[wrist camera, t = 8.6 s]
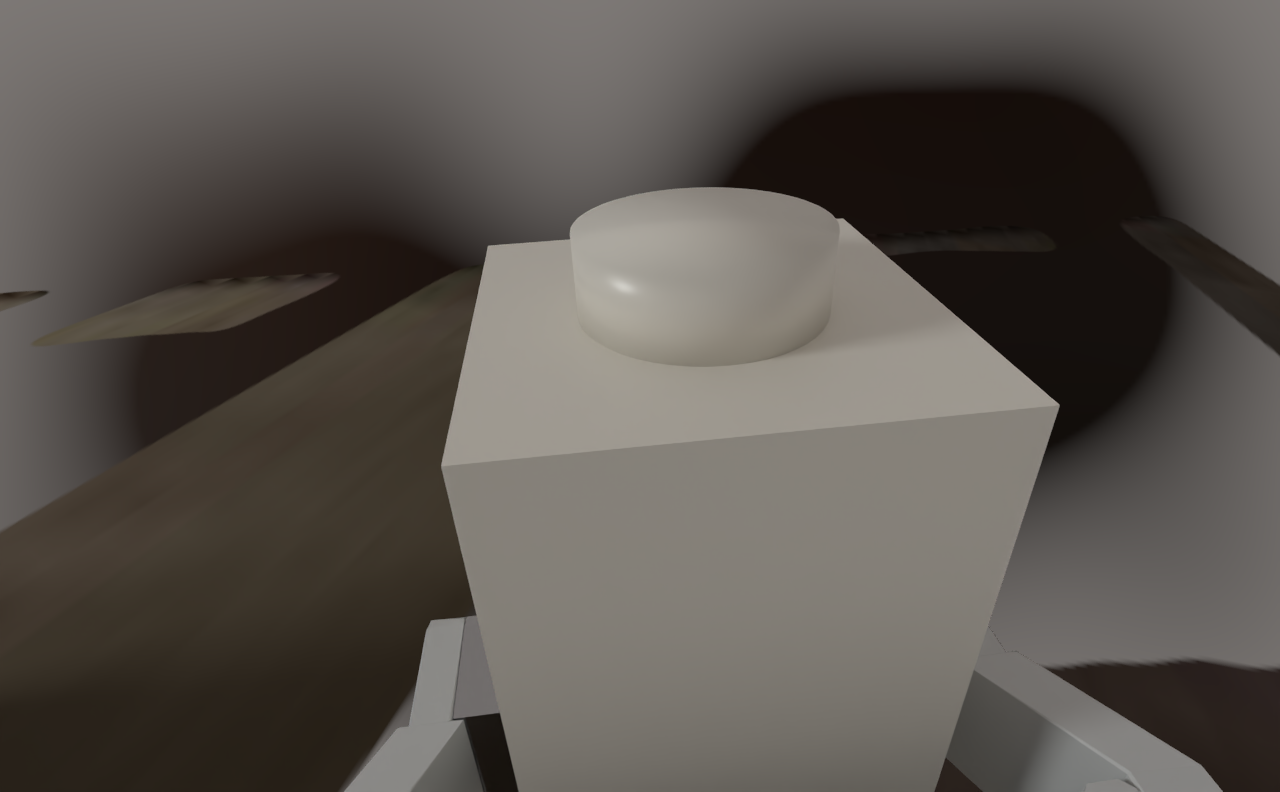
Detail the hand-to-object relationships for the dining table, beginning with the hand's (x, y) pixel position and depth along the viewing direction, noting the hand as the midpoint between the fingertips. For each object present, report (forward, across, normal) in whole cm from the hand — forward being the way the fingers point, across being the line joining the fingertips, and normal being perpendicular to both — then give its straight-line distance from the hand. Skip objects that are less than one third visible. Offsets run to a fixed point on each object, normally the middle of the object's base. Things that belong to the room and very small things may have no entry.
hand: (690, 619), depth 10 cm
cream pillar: (-1, 0, +8) cm, 8 cm away
